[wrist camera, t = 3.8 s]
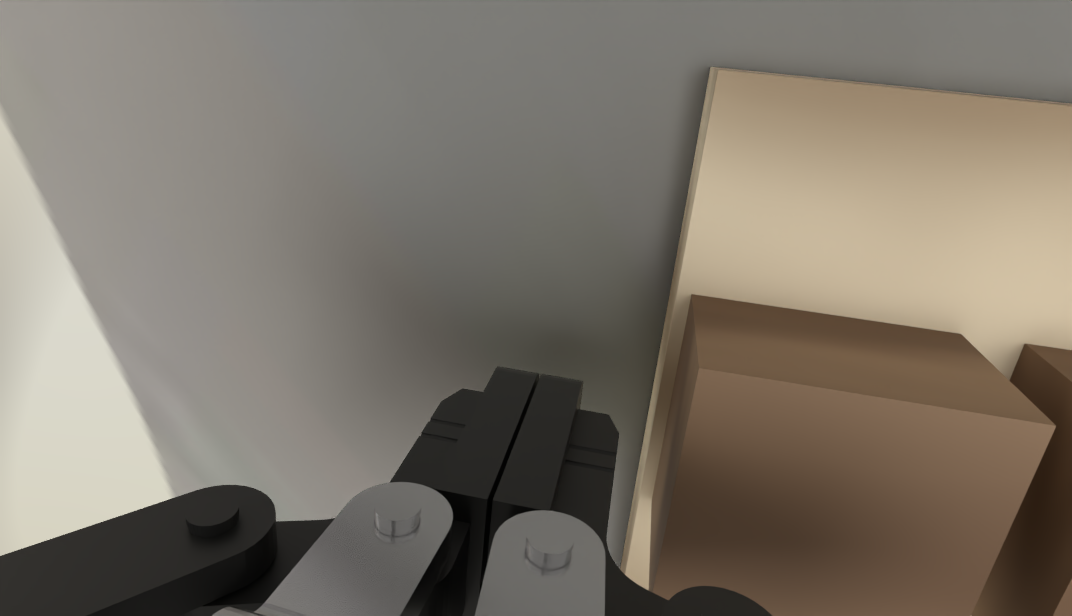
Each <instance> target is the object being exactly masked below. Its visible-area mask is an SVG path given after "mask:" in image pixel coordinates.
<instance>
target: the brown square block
mask: <svg viewBox="0 0 1072 616" xmlns="http://www.w3.org/2000/svg"><path fill="white" fill-rule="evenodd" d="M1055 428H1056V425H1055V424H1054V423H1053V422H1052V421H1051V420H1050V419H1049V418H1048V417H1047V416H1046V415H1045V414H1044V413H1042V412H1041V411H1040V410H1039V409H1038V408H1037V407H1036V406H1035V405H1034V404H1033V403H1032V402H1031V401H1030V400H1029V399H1028V398H1027V397H1026V396H1025V395H1024V394H1023V393H1022V392H1021V391H1020V390H1019V389H1018V388H1017V387H1016V386H1014V385H1013V384H1012V383H1011V382H1010V381H1009V380H1008V379H1007V378H1006V377H1005V376H1004V375H1003V374H1002V373H1001V372H1000V371H999V370H998V369H997V368H996V367H995V366H994V365H993V364H992V363H991V362H990V361H989V360H988V359H986V358H985V357H984V356H983V355H982V354H981V353H980V352H979V351H978V350H977V349H976V348H975V347H974V346H973V345H972V344H971V343H970V342H969V341H968V340H967V339H966V338H965V337H964V336H963V335H962V334H959V333H952V332H945V331H938V330H932V329H925V328H918V327H911V326H905V325H898V324H891V323H884V322H877V321H871V320H864V319H857V318H850V317H844V316H837V315H830V314H823V313H817V312H810V311H803V310H796V309H790V308H783V307H776V306H769V305H762V304H756V303H749V302H742V301H735V300H729V299H722V298H715V297H708V296H702V295H695V294H691V299H690V304H689V309H688V315H687V320H686V325H685V330H684V335H683V341H682V346H681V351H680V356H679V361H678V366H677V372H676V377H675V382H674V387H673V392H672V397H671V403H670V408H669V413H668V418H667V423H666V428H665V434H664V439H663V444H662V449H661V454H660V459H659V465H658V470H657V475H656V480H655V485H654V490H653V496H652V504H651V534H650V564H649V591H651V592H653V593H655V594H657V595H659V596H661V597H663V598H665V599H667V600H669V599H670V598H671V597H672V596H674V595H675V594H676V593H678V592H680V591H682V590H684V589H687V588H691V587H696V586H715V587H720V588H725V589H728V590H732V591H735V592H737V593H739V594H742V595H744V596H746V597H748V598H750V599H751V600H753V601H755V602H756V603H758V604H759V605H760V606H762V607H763V608H764V609H766V610H767V611H768V612H769V613H770V614H771V615H772V616H971V614H972V612H973V610H974V608H975V605H976V603H977V601H978V599H979V596H980V594H981V592H982V590H983V588H984V585H985V583H986V581H987V579H988V576H989V574H990V572H991V570H992V568H993V565H994V563H995V561H996V559H997V557H998V554H999V552H1000V550H1001V548H1002V545H1003V543H1004V541H1005V539H1006V537H1007V534H1008V532H1009V530H1010V528H1011V525H1012V523H1013V521H1014V519H1015V517H1016V514H1017V512H1018V510H1019V508H1020V506H1021V503H1022V501H1023V499H1024V497H1025V494H1026V492H1027V490H1028V488H1029V486H1030V483H1031V481H1032V479H1033V477H1034V474H1035V472H1036V470H1037V468H1038V466H1039V463H1040V461H1041V459H1042V457H1043V455H1044V452H1045V450H1046V448H1047V446H1048V443H1049V441H1050V439H1051V437H1052V435H1053V432H1054V430H1055Z"/></svg>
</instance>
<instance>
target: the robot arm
mask: <svg viewBox="0 0 1072 616" xmlns="http://www.w3.org/2000/svg"><path fill="white" fill-rule="evenodd" d="M582 389H583V381H579V380H574V379H568V378H562V377H556V376H551V375H545V374H542V375H541V376H540V379H539V374H538V373H533V372H527V371H521V370H515V369H510V368H504V367H497V368H496V370H495V371H494V373H493V375H492V377H491V379H490V381H489V383H488V384H487V386H486V388H485V390H484V392H479V391H473V390H467V389H461V390H460V391H458V392H456V393H455V394H453V395H451V396H450V397H448V398H446V399H445V400H443V401H442V402H441V403H440V405H439V406H438V408H437V409H436V411H435V413H434V414H433V416H432V417H431V420H430V422H428V423H427V425H426V427H425V428H424V430H423V431H422V434H421V436H419V438H418V439H417V441H416V442H415V444H414V445H413V447H412V448H411V450H410V452H409V453H408V455H407V456H406V458H405V459H404V461H403V463H402V464H401V466H400V467H399V469H398V470H397V472H396V473H395V475H394V477H393V478H392V480H391V481H390V483H385V484H381V485H377V486H374V487H371V488H368V489H366V490H364V491H363V492H361V493H359V494H358V495H356V496H355V497H353V498H352V499H351V500H350V501H349V502H348V504H347V505H346V506H345V507H344V508H343V510H342V511H341V512H340V513H339V514H338V515H337V517H336V518H333V519H327V520H311V521H280V522H276V513H275V507H274V504H273V502H272V500H271V499H270V498H269V497H268V496H267V495H266V494H264V493H263V492H261V491H259V490H256V489H254V488H250V487H246V486H239V485H221V486H213V487H208V488H204V489H200V490H196V491H193V492H190V493H187V494H184V495H181V496H178V497H175V498H172V499H169V500H166V501H164V502H160V503H158V504H155V505H152V506H149V507H146V508H143V509H140V510H137V511H134V512H131V513H128V514H125V515H122V516H119V517H116V518H113V519H110V520H107V521H104V522H101V523H98V524H95V525H92V526H89V527H86V528H83V529H80V530H77V531H74V532H71V533H68V534H65V535H62V536H59V537H56V538H53V539H50V540H47V541H44V542H41V543H38V544H35V545H32V546H29V547H26V548H23V549H20V550H17V551H14V552H11V553H8V554H5V555H2V556H0V616H772V615H771V614H770V613H769V612H768V611H767V610H766V609H764V608H763V607H762V606H760V605H759V604H758V603H756V602H755V601H753V600H751V599H750V598H748V597H746V596H744V595H742V594H739V593H737V592H735V591H732V590H728V589H725V588H720V587H715V586H696V587H691V588H687V589H684V590H682V591H680V592H678V593H676V594H675V595H674V596H672V597H671V598H670V599H669V600H667V599H665V598H663V597H661V596H659V595H657V594H655V593H653V592H651V591H648V590H647V589H645V588H643V587H641V586H639V585H638V584H636V583H635V582H634V581H632V580H631V579H629V578H628V577H627V576H626V575H625V574H624V573H623V572H622V571H621V570H620V569H619V568H618V566H617V565H616V564H615V562H614V561H613V559H612V558H611V556H610V553H609V551H608V547H607V542H606V535H607V527H608V519H609V510H610V502H611V494H612V486H613V478H614V470H615V462H616V454H617V446H618V438H619V433H618V431H617V429H616V427H615V425H614V423H613V422H612V420H611V418H610V416H609V415H607V414H602V413H596V412H591V411H585V410H580V404H581V397H582Z"/></svg>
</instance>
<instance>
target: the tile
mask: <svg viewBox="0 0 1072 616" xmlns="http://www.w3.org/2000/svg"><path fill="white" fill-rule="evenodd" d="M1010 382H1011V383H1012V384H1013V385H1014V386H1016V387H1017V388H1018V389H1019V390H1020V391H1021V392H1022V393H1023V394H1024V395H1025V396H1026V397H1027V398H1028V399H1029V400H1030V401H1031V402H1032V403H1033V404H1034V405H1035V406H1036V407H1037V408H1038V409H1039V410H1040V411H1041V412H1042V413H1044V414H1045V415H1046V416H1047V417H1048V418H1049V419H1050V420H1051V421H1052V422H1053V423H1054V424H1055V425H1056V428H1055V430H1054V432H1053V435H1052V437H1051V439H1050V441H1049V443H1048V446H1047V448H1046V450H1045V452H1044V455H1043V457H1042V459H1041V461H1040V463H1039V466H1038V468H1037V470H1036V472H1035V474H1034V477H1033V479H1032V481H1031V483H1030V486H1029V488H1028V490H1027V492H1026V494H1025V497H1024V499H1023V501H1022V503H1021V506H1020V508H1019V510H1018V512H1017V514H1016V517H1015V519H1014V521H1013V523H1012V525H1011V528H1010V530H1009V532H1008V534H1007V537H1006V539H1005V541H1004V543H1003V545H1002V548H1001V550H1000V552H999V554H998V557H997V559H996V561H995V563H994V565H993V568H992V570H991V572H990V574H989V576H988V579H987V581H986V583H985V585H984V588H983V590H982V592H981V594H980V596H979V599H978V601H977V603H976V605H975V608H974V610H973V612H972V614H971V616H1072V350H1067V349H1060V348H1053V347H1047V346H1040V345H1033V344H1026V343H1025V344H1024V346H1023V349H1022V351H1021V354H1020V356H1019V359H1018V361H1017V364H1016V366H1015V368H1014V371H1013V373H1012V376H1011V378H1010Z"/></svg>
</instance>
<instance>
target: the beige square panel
mask: <svg viewBox="0 0 1072 616" xmlns="http://www.w3.org/2000/svg"><path fill="white" fill-rule="evenodd" d="M691 294H695V295H702V296H708V297H715V298H722V299H729V300H735V301H742V302H749V303H756V304H762V305H769V306H776V307H783V308H790V309H796V310H803V311H810V312H817V313H823V314H830V315H837V316H844V317H850V318H857V319H864V320H871V321H877V322H884V323H891V324H898V325H905V326H911V327H918V328H925V329H932V330H938V331H945V332H952V333H959V334H962V335H963V336H964V337H965V338H966V339H967V340H968V341H969V342H970V343H971V344H972V345H973V346H974V347H975V348H976V349H977V350H978V351H979V352H980V353H981V354H982V355H983V356H984V357H985V358H986V359H988V360H989V361H990V362H991V363H992V364H993V365H994V366H995V367H996V368H997V369H998V370H999V371H1000V372H1001V373H1002V374H1003V375H1004V376H1005V377H1006V378H1007V379H1008V380H1009V381H1010V378H1011V376H1012V373H1013V371H1014V368H1015V366H1016V364H1017V361H1018V359H1019V356H1020V354H1021V351H1022V349H1023V346H1024V344H1025V343H1026V344H1033V345H1040V346H1047V347H1053V348H1060V349H1067V350H1072V104H1070V103H1060V102H1050V101H1041V100H1031V99H1021V98H1011V97H1002V96H992V95H982V94H972V93H962V92H953V91H943V90H933V89H923V88H914V87H904V86H894V85H884V84H875V83H865V82H855V81H845V80H835V79H826V78H816V77H806V76H796V75H787V74H777V73H767V72H757V71H748V70H738V69H728V68H718V67H711V68H710V73H709V79H708V84H707V90H706V95H705V101H704V106H703V112H702V117H701V123H700V129H699V134H698V140H697V145H696V151H695V156H694V162H693V167H692V173H691V178H690V184H689V190H688V195H687V201H686V206H685V212H684V217H683V223H682V228H681V234H680V240H679V245H678V251H677V256H676V262H675V267H674V273H673V278H672V284H671V289H670V295H669V301H668V306H667V312H666V317H665V323H664V328H663V334H662V339H661V345H660V350H659V356H658V362H657V367H656V373H655V378H654V384H653V389H652V395H651V400H650V406H649V412H648V417H647V423H646V428H645V434H644V439H643V445H642V450H641V456H640V461H639V467H638V473H637V478H636V484H635V489H634V495H633V500H632V506H631V511H630V517H629V523H628V528H627V534H626V539H625V545H624V550H623V556H622V561H621V567H620V570H621V571H622V572H623V573H624V574H625V575H626V576H627V577H628V578H629V579H631V580H632V581H634V582H635V583H636V584H638V585H639V586H641V587H643V588H645V589H647V590H648V591H649V564H650V534H651V504H652V496H653V490H654V485H655V480H656V475H657V470H658V465H659V459H660V454H661V449H662V444H663V439H664V434H665V428H666V423H667V418H668V413H669V408H670V403H671V397H672V392H673V387H674V382H675V377H676V372H677V366H678V361H679V356H680V351H681V346H682V341H683V335H684V330H685V325H686V320H687V315H688V309H689V304H690V299H691Z"/></svg>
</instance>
